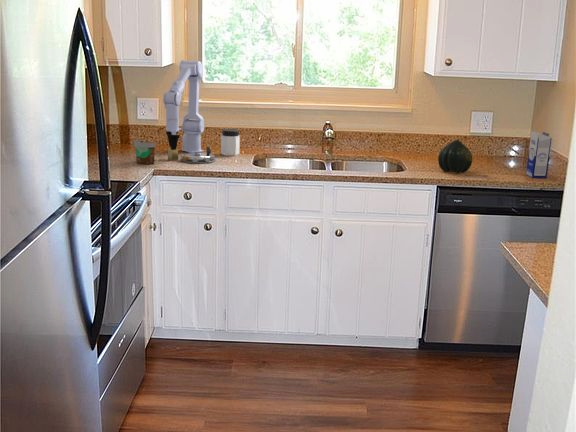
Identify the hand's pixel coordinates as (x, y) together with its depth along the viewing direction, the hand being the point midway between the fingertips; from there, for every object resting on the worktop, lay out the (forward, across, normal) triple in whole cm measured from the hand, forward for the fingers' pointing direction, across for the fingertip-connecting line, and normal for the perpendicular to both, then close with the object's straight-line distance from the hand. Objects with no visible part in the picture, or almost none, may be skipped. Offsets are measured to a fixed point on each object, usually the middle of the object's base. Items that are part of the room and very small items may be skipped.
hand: (172, 148), depth 303 cm
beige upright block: (+5, 0, 0) cm, 5 cm away
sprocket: (+5, -3, -11) cm, 13 cm away
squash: (+6, -40, -122) cm, 129 cm away
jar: (+6, +11, -29) cm, 31 cm away
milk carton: (+5, -54, -156) cm, 165 cm away
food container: (+6, -7, +14) cm, 17 cm away
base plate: (+5, -3, -11) cm, 13 cm away
